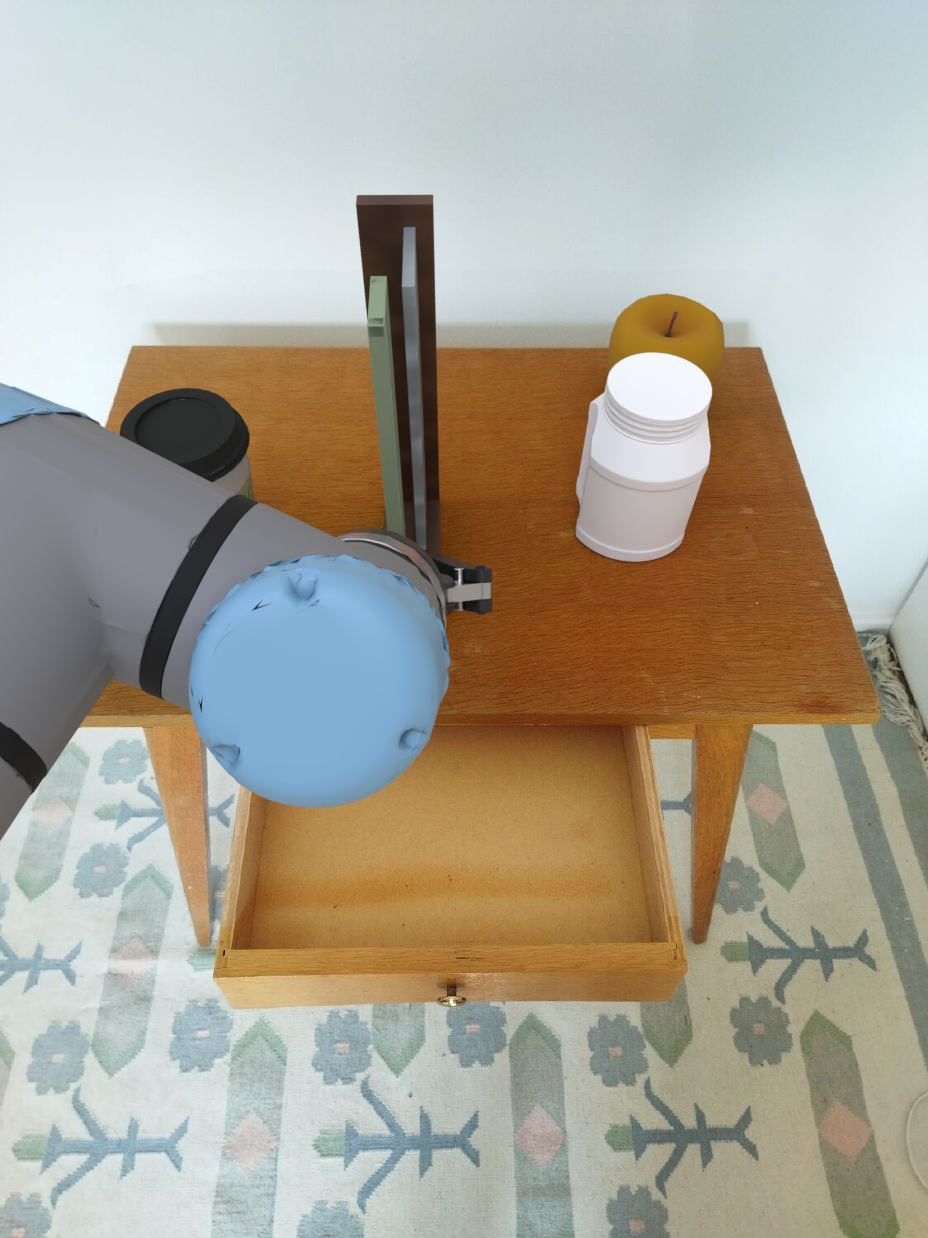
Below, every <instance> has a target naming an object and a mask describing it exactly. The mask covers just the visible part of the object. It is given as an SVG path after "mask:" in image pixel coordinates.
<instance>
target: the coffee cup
mask: <svg viewBox="0 0 928 1238" xmlns="http://www.w3.org/2000/svg"><path fill="white" fill-rule="evenodd" d="M118 435H120V436H122V437H124V438H126V439H128V440H129V441H131V442H133V443H135V444H137V445H139V446H141V447H143V448H145V449H147V450H149V451H151V452H153V453H155V454H157V455H159V456H161V457H163V458H165V459H167V460H169V461H171V462H173V463H175V464H177V465H179V466H181V467H183V468H185V469H186V470H188V471H190V472H192V473H194V474H196V475H198V476H200V477H202V478H204V479H206V480H208V481H210V482H212V483H214V484H216V485H218V486H220V487H222V488H224V489H226V490H228V491H230V492H232V493H234V494H236V495H239V494H241V495H244V496H246V497H248V498H250V499H252V500H254V501H255V495H254V485H253V478H252V468H251V463H250V462H251V461H250V459H249V458H250V457H249V455H248V454H247V453H248V449H249V446H250V438H251V437H250V436H251V434H250V430H249V426H248V425H247V423H246V421H245V419H244V418H243V416H242V415H241V413H240V412H239V411H237V409H235V408H234V407H233V406H232V405H231V404H230V403H229V401H228V400H227V399H225V397H223V396H222V395H220V394H218V393H216V392H213V391H211V390H208V389H202V388H198V387H197V388H195V387H181V388H179V387H178V388H173V389H167V390H164V391H161V392H158V393H155V394H153V395H150V396H148V397H146V398H145V399H143V400H140V402H138V403H137V404H135V406H133V407H132V408H131V409H130V410H129V411H128V413H126V415H125V416H124V417H123V420H122V422H121V424H120V427H119V434H118Z"/></svg>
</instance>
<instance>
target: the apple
mask: <svg viewBox="0 0 928 1238" xmlns="http://www.w3.org/2000/svg"><path fill="white" fill-rule="evenodd" d="M724 331H725V330H724V324H723V322H722V320H721V319H720V318H719V316H718V315H717V313H715V312H714V311H713V310H711V309H709V308H708V307H707V306H705V305H703V304H702V303H701V302H699V301H696V300H694V299H692V298H689V297H686V296H683V295H677V294H672V293H658V294H657V293H656V294H650V295H647V296H644V297H640V298H638V299H636V300H635V301H634V302H632V303H631V304H630V305H628V306H627V307H626V308H624V309H623V310H622V311H621V312H620V313H619V315H618V316H617V318H616V320H615V322H614V325H613V328H612V331H611V334H610V338H609V342H608V343H609V344H608V349H607V370H608V371H607V372H608V374H609V372H610V370H611V369H612V368H613V367H614V366H615V365H616V364H617V363H618V362H619V361H621V360H623V359H624V358H627V357H629V356H632V355H636V354H641V353H664V354H670V355H674V356H677V357H680V358H683V359H685V360H687V361H689V362H691V363H693V364H694V365H696V366H697V367H698V368H700V369H701V370H702V371H703V372H704V373H705V375H706V376H707V377H708V379H709V381H710V383H711V386H712V389H713V388H714V385H715V383H716V381H717V379H718V376H719V373H720V371H721V368H722V366H723V362H724V358H725V353H726V350H725V349H726V348H725V347H726V346H725V332H724Z"/></svg>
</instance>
